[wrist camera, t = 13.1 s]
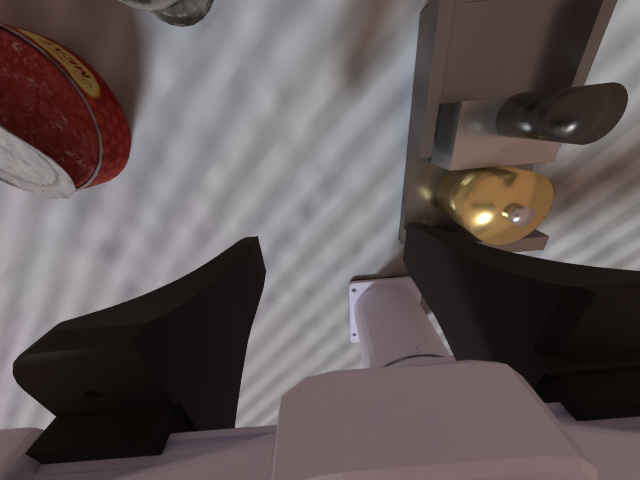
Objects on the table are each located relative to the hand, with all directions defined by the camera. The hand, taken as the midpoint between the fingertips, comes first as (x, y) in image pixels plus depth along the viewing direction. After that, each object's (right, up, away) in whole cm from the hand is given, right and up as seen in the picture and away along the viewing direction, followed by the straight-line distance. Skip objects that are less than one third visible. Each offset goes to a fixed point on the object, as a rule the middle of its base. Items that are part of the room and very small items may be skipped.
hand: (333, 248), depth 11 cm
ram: (+11, +9, +6) cm, 15 cm away
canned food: (-20, +9, +6) cm, 23 cm away
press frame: (+11, +7, +8) cm, 16 cm away
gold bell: (+12, +5, +8) cm, 15 cm away
